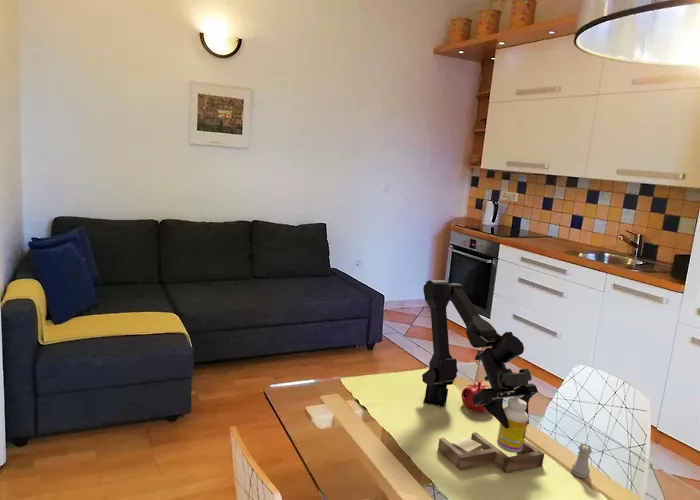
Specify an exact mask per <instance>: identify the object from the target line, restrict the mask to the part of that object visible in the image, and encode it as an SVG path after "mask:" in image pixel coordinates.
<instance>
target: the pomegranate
mask: <svg viewBox="0 0 700 500" xmlns="http://www.w3.org/2000/svg"><path fill="white" fill-rule="evenodd" d="M471 382H472V383H473V384H471V383H470V384H468V385H466V386H467V387H465V388H464V389H463V390H462V392H461V400H462V404H463V407H464V408H466V409H467V410H469V411H470V410H471V411H470V412H473V411H477V412H476V413H478V412H484V413H486V412H487V411H488V410H487V409H485V408H483V407H482V406H483V405H485V403H484V404H483V405H479V406H474V403H473V400H472V399H473V395H474V394H475V393H477V392H479V391H480V390H482V389H488V388H491V386H489V385H487V384H485V385H482V384H483V383H482V381H481V380H478V381H477V383H476V382H475V381H472V380H471ZM486 387H488V388H486Z"/></svg>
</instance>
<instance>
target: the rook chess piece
mask: <svg viewBox="0 0 700 500" xmlns="http://www.w3.org/2000/svg"><path fill="white" fill-rule="evenodd" d="M577 448H578V450H579V451H578V452H577V455H578V456H577V458H576V461H575V462H574V463H573V464H572V465H571V469H570V471H571V474H573V475H574V477H577V478H579V479H583V480H585V479H588V478H589V477H590V473H591V471H590V467H589V458H590V454H591V453H593V452H592V447H591V445H589V444H588V443H583V442H581V443H580V445H579V446H578V447H577Z"/></svg>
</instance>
